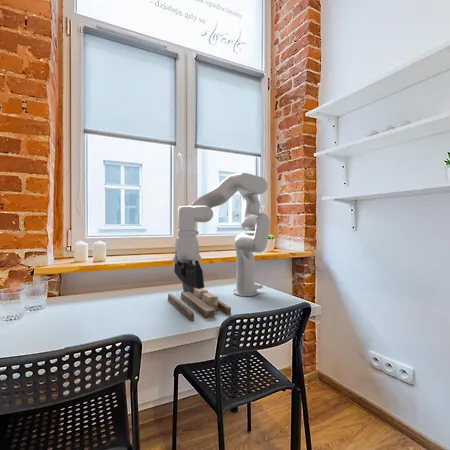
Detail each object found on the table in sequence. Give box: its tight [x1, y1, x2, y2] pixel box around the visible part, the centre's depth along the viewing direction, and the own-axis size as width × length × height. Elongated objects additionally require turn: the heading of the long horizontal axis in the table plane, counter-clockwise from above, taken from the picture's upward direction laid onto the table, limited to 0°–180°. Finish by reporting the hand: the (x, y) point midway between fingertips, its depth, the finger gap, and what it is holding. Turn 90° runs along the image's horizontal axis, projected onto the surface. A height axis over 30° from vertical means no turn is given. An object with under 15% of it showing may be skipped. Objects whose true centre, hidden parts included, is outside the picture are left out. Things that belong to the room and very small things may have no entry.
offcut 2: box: [202, 291, 219, 311], centre depth 131 cm, size 4×8×6 cm, turn 26°
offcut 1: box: [193, 287, 209, 300], centre depth 141 cm, size 4×8×6 cm, turn 26°
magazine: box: [173, 260, 205, 289], centre depth 130 cm, size 17×3×30 cm
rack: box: [167, 291, 232, 322], centre depth 133 cm, size 18×32×3 cm, turn 26°
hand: (187, 275), depth 131 cm, fingers closed on magazine, 3 cm apart
